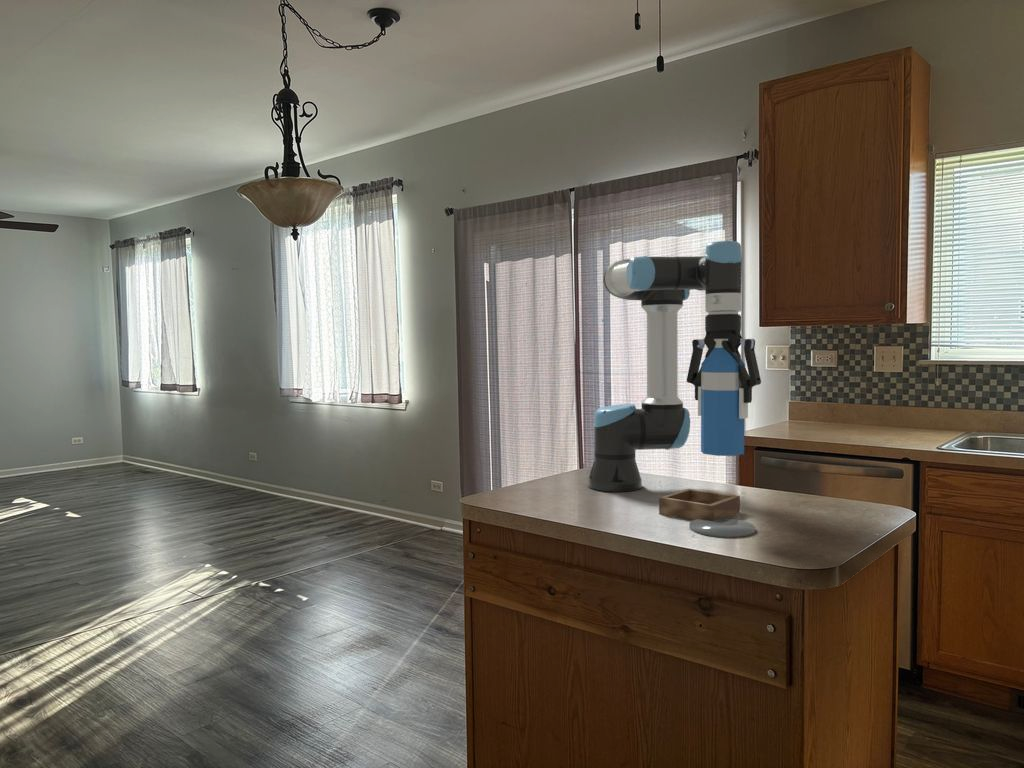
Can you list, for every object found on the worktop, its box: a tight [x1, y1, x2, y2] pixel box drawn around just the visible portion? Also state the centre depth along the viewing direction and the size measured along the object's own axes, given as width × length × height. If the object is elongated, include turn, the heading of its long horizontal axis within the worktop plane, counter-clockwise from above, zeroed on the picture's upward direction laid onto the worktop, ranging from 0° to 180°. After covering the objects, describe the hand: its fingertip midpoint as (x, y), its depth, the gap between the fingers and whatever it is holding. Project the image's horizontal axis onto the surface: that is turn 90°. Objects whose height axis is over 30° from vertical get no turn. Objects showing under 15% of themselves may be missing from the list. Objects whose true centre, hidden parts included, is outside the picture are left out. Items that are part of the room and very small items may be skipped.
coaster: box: [688, 517, 756, 539], centre depth 162 cm, size 14×14×1 cm
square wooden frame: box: [658, 488, 741, 521], centre depth 177 cm, size 14×14×4 cm
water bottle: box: [700, 339, 746, 457], centre depth 160 cm, size 9×9×25 cm
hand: (722, 416), depth 160 cm, fingers closed on water bottle, 9 cm apart
